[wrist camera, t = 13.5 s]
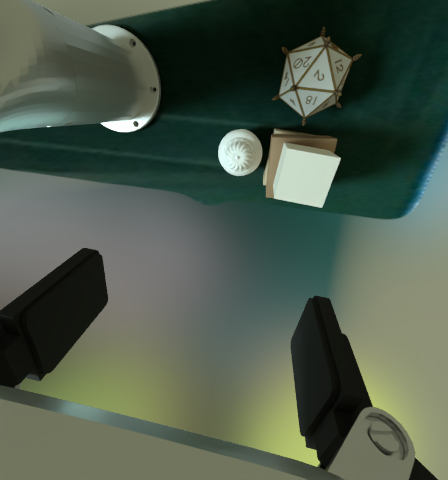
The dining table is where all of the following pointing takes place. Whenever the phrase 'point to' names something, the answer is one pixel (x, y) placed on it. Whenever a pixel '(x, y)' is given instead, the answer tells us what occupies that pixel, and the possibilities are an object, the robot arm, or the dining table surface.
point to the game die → (314, 76)
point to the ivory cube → (304, 174)
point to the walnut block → (303, 140)
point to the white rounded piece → (240, 152)
